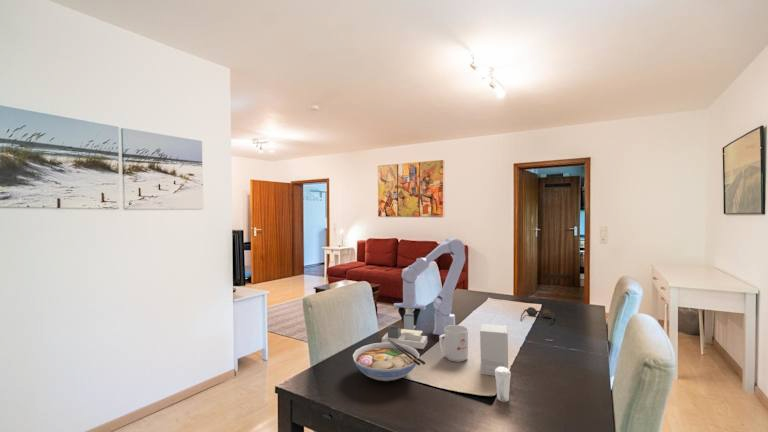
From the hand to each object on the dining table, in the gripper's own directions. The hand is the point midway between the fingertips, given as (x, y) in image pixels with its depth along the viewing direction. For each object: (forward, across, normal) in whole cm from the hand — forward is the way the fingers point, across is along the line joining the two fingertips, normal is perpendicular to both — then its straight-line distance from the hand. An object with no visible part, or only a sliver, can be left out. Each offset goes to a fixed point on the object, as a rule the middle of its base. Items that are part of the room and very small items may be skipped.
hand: (409, 324), depth 158 cm
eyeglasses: (+6, +58, +40) cm, 70 cm away
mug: (+5, +22, -21) cm, 31 cm away
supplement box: (+5, +37, -27) cm, 46 cm away
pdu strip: (+4, 0, -11) cm, 12 cm away
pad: (+4, 0, 0) cm, 5 cm away
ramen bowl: (+5, +2, -42) cm, 42 cm away
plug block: (+2, 0, 0) cm, 2 cm away
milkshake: (+5, +39, -46) cm, 60 cm away
